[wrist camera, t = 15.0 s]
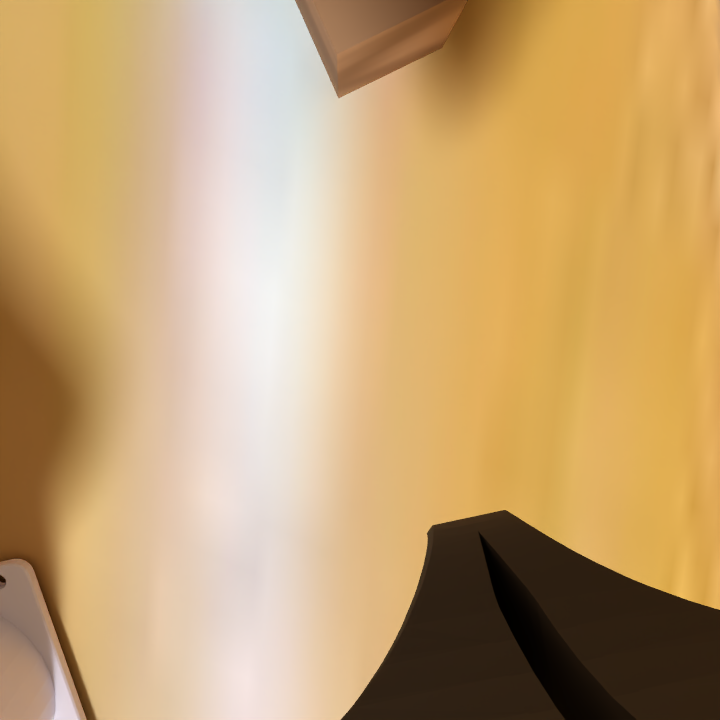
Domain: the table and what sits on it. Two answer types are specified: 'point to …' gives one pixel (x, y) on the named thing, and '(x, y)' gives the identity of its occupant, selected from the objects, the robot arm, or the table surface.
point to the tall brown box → (375, 35)
